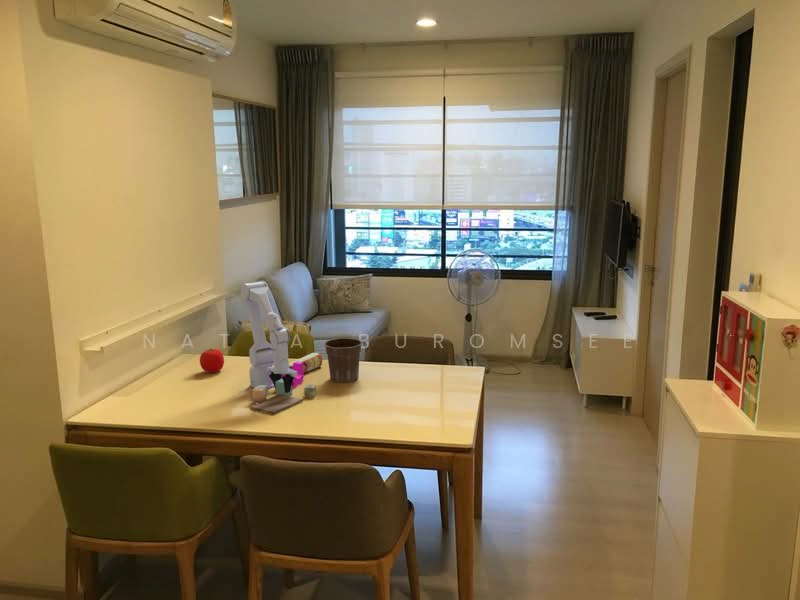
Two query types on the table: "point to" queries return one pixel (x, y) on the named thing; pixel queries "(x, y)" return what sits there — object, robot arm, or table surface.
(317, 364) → the snack package
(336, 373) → the plant pot
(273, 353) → the robot arm
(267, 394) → the grey cube
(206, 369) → the tomato
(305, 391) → the olive block
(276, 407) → the board
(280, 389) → the teal block
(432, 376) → the table surface
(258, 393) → the peach rounded piece
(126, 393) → the table surface
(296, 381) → the toy block
